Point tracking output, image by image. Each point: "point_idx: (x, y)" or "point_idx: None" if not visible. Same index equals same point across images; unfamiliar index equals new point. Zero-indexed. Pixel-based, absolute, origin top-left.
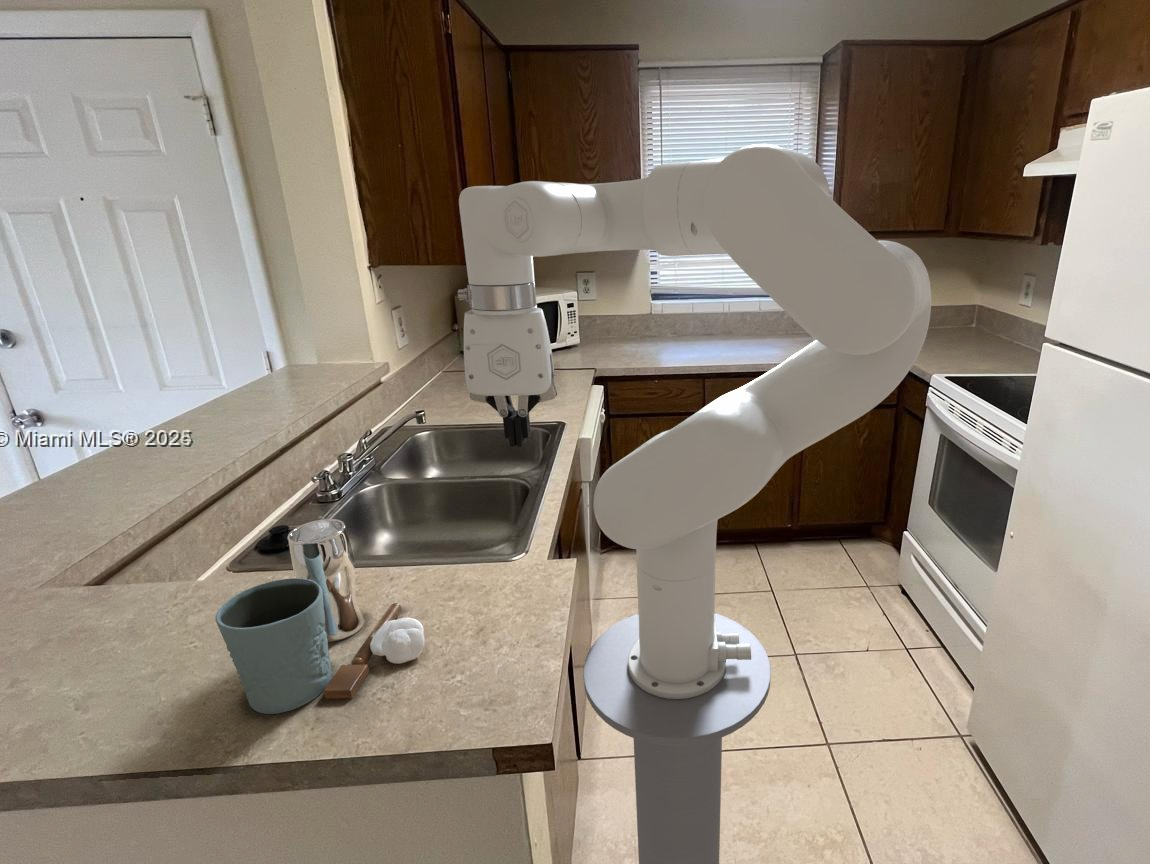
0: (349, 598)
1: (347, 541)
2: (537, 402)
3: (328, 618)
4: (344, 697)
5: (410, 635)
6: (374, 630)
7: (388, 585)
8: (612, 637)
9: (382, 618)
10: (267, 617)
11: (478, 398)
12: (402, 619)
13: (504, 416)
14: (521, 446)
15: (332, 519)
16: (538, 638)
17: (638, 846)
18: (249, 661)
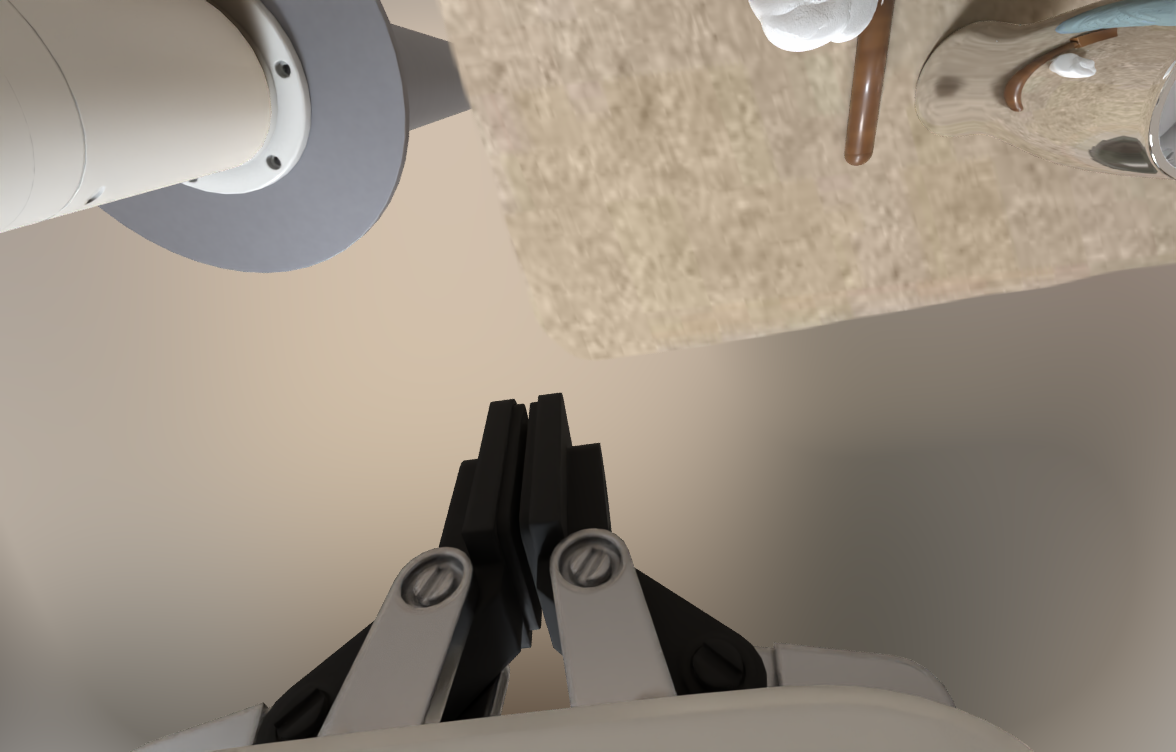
0: (985, 73)
1: (1103, 110)
2: (293, 692)
3: (1012, 27)
4: None
5: None
6: (883, 42)
7: (896, 250)
8: (374, 156)
9: (877, 94)
10: None
11: (849, 679)
12: (824, 30)
13: (582, 536)
14: (496, 401)
15: None
16: (507, 97)
17: (418, 59)
18: None
